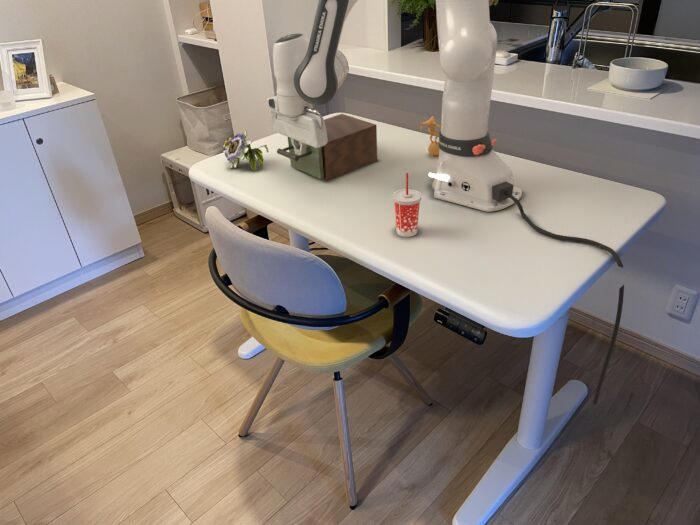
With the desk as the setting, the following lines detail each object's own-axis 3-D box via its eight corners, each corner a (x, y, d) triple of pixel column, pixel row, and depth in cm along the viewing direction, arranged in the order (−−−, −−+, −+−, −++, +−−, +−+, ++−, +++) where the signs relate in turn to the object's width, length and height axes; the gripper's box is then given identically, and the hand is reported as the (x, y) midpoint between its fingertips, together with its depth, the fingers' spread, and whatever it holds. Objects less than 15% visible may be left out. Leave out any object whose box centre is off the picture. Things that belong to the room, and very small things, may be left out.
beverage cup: (426, 230, 122) (428, 172, 114) (409, 241, 118) (409, 182, 110) (404, 222, 125) (404, 165, 118) (387, 232, 122) (386, 174, 114)
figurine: (451, 155, 156) (453, 114, 149) (440, 163, 152) (442, 121, 146) (426, 150, 160) (427, 109, 154) (415, 157, 157) (415, 116, 150)
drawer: (303, 186, 142) (300, 154, 137) (274, 172, 151) (269, 141, 146) (368, 160, 154) (367, 130, 149) (338, 148, 163) (336, 119, 158)
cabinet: (327, 181, 146) (324, 143, 140) (294, 166, 155) (290, 130, 150) (377, 160, 156) (376, 124, 150) (344, 148, 165) (341, 113, 159)
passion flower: (236, 185, 160) (212, 150, 158) (265, 167, 165) (241, 133, 163) (248, 174, 150) (222, 137, 148) (278, 156, 155) (253, 119, 153)
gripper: (331, 108, 133) (335, 161, 141) (282, 93, 146) (288, 142, 154) (311, 114, 130) (316, 169, 137) (262, 98, 143) (269, 148, 150)
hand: (300, 154), depth 146 cm, fingers closed, pressing on drawer
